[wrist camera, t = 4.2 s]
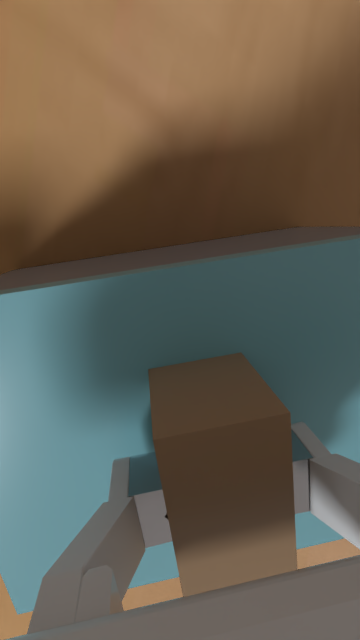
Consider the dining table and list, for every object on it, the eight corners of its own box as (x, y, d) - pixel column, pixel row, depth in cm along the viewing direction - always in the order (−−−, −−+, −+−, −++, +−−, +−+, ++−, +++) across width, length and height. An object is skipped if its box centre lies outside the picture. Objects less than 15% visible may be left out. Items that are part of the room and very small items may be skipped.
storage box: (14, 269, 17) (-85, 303, 10) (298, 226, 18) (410, 226, 11) (67, 454, 21) (26, 586, 13) (303, 407, 22) (391, 503, 14)
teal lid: (-65, 296, 11) (-265, 364, 5) (389, 226, 12) (589, 225, 7) (34, 561, 14) (-29, 761, 9) (375, 486, 15) (499, 621, 10)
